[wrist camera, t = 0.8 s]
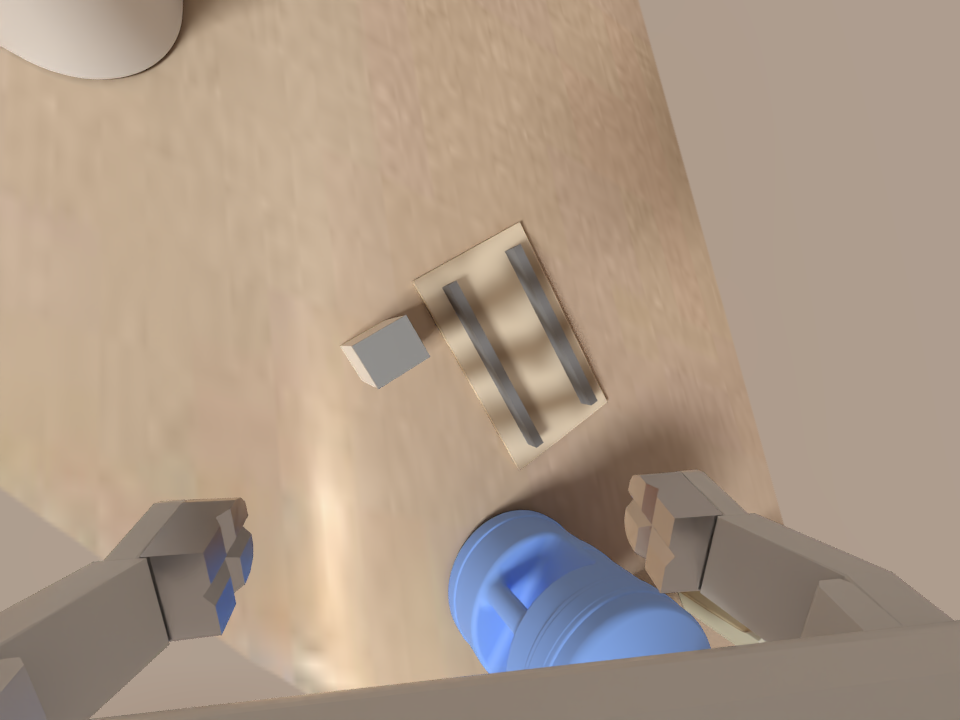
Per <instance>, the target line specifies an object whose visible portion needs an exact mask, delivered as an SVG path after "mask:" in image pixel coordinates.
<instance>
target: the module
mask: <svg viewBox="0 0 960 720" xmlns="http://www.w3.org/2000/svg"><path fill="white" fill-rule="evenodd" d="M340 347H341V348H342V350H343V352H344V353H345V355H346V356H347V358H348V360H349V361H350V363H351V364H352V366H353V368H354V369H355V371H356V372H357V374H358V376H359V377H360V379H361V380H362V381H363V382H365V383H367V384H369V385H372V386H374V387H376V388H378V389H380V388H381V387H383V386H384V385H386V384H388V383H389V382H391V381H392V380H394V379H396V378H397V377H399V376H400V375H402V374H404V373H405V372H407V371H408V370H410V369H412V368H413V367H415V366H416V365H418V364H420V363H421V362H423V361H424V360H426V359H427V358H429V357H430V355H429V354H428V352H427V350H426V348H425V347H424V345H423V343H422V342H421V340H420V338H419V336H418V335H417V333H416V331H415V329H414V328H413V326H412V324H411V322H410V321H409V319H408V317H407V316H406V315H404V316H400V317H396V318H392V319H388V320H384V321H382V322H381V323H379V324H377V325H375V326H374V327H372V328H370V329H368V330H367V331H365V332H363V333H361V334H360V335H358V336H356V337H354V338H353V339H351V340H349V341H347V342H346V343H344V344H342V345H340Z"/></svg>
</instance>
